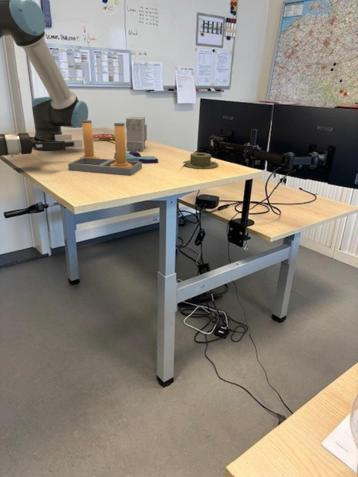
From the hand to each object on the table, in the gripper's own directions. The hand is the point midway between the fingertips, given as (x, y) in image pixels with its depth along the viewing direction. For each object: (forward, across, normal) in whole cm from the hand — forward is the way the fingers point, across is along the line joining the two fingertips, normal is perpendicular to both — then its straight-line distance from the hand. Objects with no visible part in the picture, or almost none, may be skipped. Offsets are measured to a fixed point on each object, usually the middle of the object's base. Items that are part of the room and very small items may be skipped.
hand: (76, 140), depth 140 cm
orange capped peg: (+10, +21, -8) cm, 25 cm away
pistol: (+22, +8, -10) cm, 26 cm away
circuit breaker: (+36, -21, -10) cm, 42 cm away
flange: (+45, +22, -10) cm, 51 cm away
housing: (+5, +17, -9) cm, 20 cm away
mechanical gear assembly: (+31, -50, -10) cm, 59 cm away
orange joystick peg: (+5, -1, -9) cm, 11 cm away
